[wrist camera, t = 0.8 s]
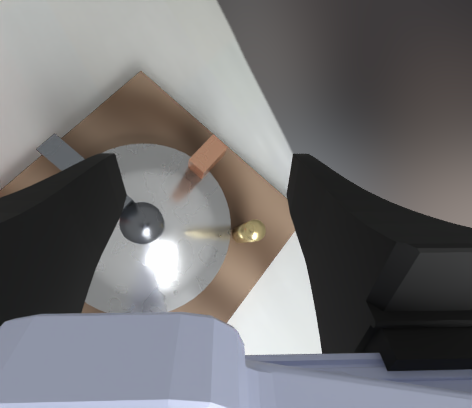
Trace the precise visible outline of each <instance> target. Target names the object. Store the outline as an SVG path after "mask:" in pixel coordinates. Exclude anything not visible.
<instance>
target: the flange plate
mask: <svg viewBox="0 0 472 408" xmlns="http://www.w3.org/2000/svg"><path fill="white" fill-rule="evenodd" d="M227 148H228V147H227V146H226V145H225V144H224V143H223V142H222V141H220V140H219V139H218V138H217V137H216V136H215V135H214V134H213V135H212V136H211V137H210V138H209V139H208V140H207V141H206V142H205V143H204V144H203V145H202V146H201V147H200V148H199V149H198V150H197V151H196V152H195V154H194V155H193V156H192V157H190V156H189V155H187V154H185V153H183V152H181V151H179V150H176V149H173V148H170V147H167V146H162V145H157V144H144V143H141V144H129V145H124V146H119V147H116V148H113V149H110V150H107V151H105V152H103V153H115V155H116V158H117V162H118V165H119V169H120V173H121V176H122V180H123V183H124V187H125V190H126V194H127V196H126V200H125V204H124V207H123V210H122V214H121V216H120V218H119V220H118V223H117V225H116V227H115V229H114V231H113V233H112V235H111V237H110V239H109V241H108V243H107V245H106V247H105V249H104V251H103V253H102V255H101V258H100V260H99V262H98V265H97V267H96V270H95V272H94V275H93V278H92V281H91V284H90V287H89V290H88V293H87V296H86V300H85V302H86V303H87V304H89V305H91V306H93V307H95V308H96V309H98V310H101V311H104V312H107V313H138V312H169V311H172V310H174V309H176V308H178V307H180V306H182V305H184V304H186V303H188V302H189V301H191V300H192V299H194V298H195V297H196V296H197V295H198V294H200V293H201V292H202V291H203V290H204V289H205V288H206V287H207V286H208V285H209V284H210V282H211V281H212V280H213V279H214V277H215V276H216V274H217V273H218V271H219V269H220V267H221V265H222V264H223V262H224V259H225V256H226V254H227V251H228V246H229V242H230V234H231V219H230V213H229V208H228V204H227V201H226V198H225V196H224V193H223V191H222V189H221V187H220V186H219V184H218V182H217V181H216V179H215V178H214V177H213V176H212V174H211V173H210V172H209V171H210V170H211V169H212V168H213V167H214V166H215V165H216V164H217V162H218V161H219V160H220V159H221V158H222V157H223V156H224V154H225V152H226V150H227ZM36 150H37V151H39V152H40V153H41V154H42V155H43V156H45V157H46V158H47V159H48V160H49V161H50V162H52V163H53V164H54V165H55V166H56V167H58V168H59V169H60V170H61V171H63V170H65V169H67V168H69V167H71V166H72V165H74V164H76V163H78V162H80V161H82V160H85V159H84V158H83V157H82V156H81V155H80V154H78V153H77V152H76V151H75V150H74V149H72V148H71V147H70V146H69V145H68V144H67V143H65V142H64V141H63V140H62V139H61V138H59V137H58V136H57V135H56V134H53V135H52V136H51V137H50V138H49V139H47V140H46V141H45V142H44V143H43V144H41V145H40V146H39V147H38V148H37V149H36Z"/></svg>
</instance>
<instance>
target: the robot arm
mask: <svg viewBox="0 0 472 408" xmlns="http://www.w3.org/2000/svg"><path fill="white" fill-rule="evenodd" d="M126 196H127V194H126V190H125V187H124V183H123V180H122V176H121V173H120V169H119V165H118V162H117V158H116V155H115V153H99V154H96V155H93V156H91V157H89V158H87V159H85V160H82V161H80V162H78V163H76V164H74V165H72V166H71V167H69V168H67V169H65V170H63V171H61V172H59V173H57V174H55V175H52V176H50V177H48V178H46V179H44V180H42V181H40V182H37V183H35V184H33V185H31V186H29V187H26V188H24V189H22V190H19V191H17V192H14V193H11V194H9V195H6V196H3V197H1V198H0V408H472V228H470V227H466V226H461V225H457V224H453V223H450V222H446V221H443V220H439V219H436V218H433V217H430V216H426V215H424V214H421V213H418V212H415V211H412V210H409V209H407V208H404V207H402V206H399V205H397V204H394V203H391V202H389V201H387V200H385V199H382V198H380V197H378V196H376V195H374V194H372V193H370V192H368V191H366V190H364V189H362V188H361V187H359V186H357V185H356V184H354V183H352V182H350V181H349V180H347V179H345V178H344V177H342V176H341V175H339V174H338V173H336V172H335V171H333V170H332V169H330V168H329V167H328V166H326V165H325V164H323V163H322V162H320V161H319V160H317V159H316V158H314V157H313V156H311V155H309V154H293V158H292V164H291V171H290V177H289V183H288V190H287V200H288V206H289V211H290V215H291V219H292V222H293V225H294V228H295V231H296V234H297V237H298V240H299V243H300V246H301V249H302V252H303V255H304V258H305V261H306V265H307V270H308V274H309V279H310V284H311V289H312V294H313V300H314V305H315V310H316V316H317V322H318V328H319V334H320V341H321V348H322V354H286V355H245V351H244V343H243V341H242V339H241V337H240V335H239V333H238V331H237V330H236V329H235V328H234V327H232V326H231V325H229V324H227V323H225V322H223V321H221V320H219V319H217V318H215V317H213V316H210V315H203V314H195V313H187V312H138V313H82V309H83V306H84V303H85V300H86V296H87V293H88V290H89V287H90V284H91V281H92V278H93V275H94V272H95V270H96V267H97V265H98V262H99V260H100V258H101V255H102V253H103V251H104V249H105V247H106V245H107V243H108V241H109V239H110V237H111V235H112V233H113V231H114V229H115V227H116V225H117V223H118V220H119V218H120V216H121V214H122V210H123V207H124V204H125V200H126Z"/></svg>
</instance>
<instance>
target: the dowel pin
mask: <svg viewBox="0 0 472 408" xmlns="http://www.w3.org/2000/svg"><path fill="white" fill-rule="evenodd" d="M265 233H266V229H265V226H264V224H263V223H262V222H261V221H259V220H251V221H248V222H246V223H244V224H242V225H239V226H237V227H235V228H234V229H233V231H232V237H233V239H234V241H236V242H237V243H247V242H254V241H259V240H261V239H262V238H263V237H264V236H265Z"/></svg>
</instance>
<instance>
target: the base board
mask: <svg viewBox="0 0 472 408" xmlns="http://www.w3.org/2000/svg"><path fill="white" fill-rule="evenodd" d="M212 135H213V133H211V132H210V131H209V130H208V129H207V128H206V127H205V126H204V125H202V124H201V123H200V122H199V121H198V120H197V119H196V118H194V117H193V116H192V115H191V114H190V113H189V112H188V111H186V110H185V109H184V108H183V107H182V106H181V105H180V104H178V103H177V102H176V101H175V100H174V99H173V98H172V97H170V96H169V95H168V94H167V93H166V92H165V91H164V90H162V89H161V88H160V87H159V86H158V85H157V84H156V83H155V82H153V81H152V80H151V79H150V78H149V77H148V76H147V75H145V74H144V73H143V72H142V71H140V72H139V73H138V74H137V75H135V76H134V77H133V78H132V79H131V80H129V81H128V82H127V83H126V84H125V85H124V86H122V87H121V88H120V89H119V90H118V91H117V92H115V93H114V94H113V95H112V96H111V97H109V98H108V99H107V100H106V101H105V102H104V103H102V104H101V105H100V106H99V107H98V108H97V109H95V110H94V111H93V112H92V113H91V114H90V115H88V116H87V117H86V118H85V119H84V120H82V121H81V122H80V123H79V124H78V125H77V126H75V127H74V128H73V129H72V130H71V131H70V132H68V133H67V134H66V135H65V136H64V137H63V138H61V139H62V140H63V141H64V142H65V143H67V144H68V145H69V146H70V147H71V148H72V149H74V150H75V151H76V152H77V153H78V154H80V155H81V156H82V157H83V158H84V159H87V158H89V157H91V156H93V155H96V154H99V153H103V152H105V151H107V150H110V149H113V148H116V147H119V146H124V145H129V144H141V143H144V144H157V145H162V146H167V147H170V148H173V149H176V150H179V151H181V152H183V153H185V154H187V155H189V156H190V157H192V156H193V155H194V154H195V152H196V151H197V150H198V149H199V148H200V147H201V146H202V145H203V144H204V143H205V142H206V141H207V140H208V139H209V138H210V137H211V136H212ZM220 141H221V140H220ZM59 172H61V170H60V169H59V168H58V167H56V166H55V165H54V164H53V163H52V162H50V161H49V160H48V159H47V158H46V157H45V156H43V155H41V156H40V157H39V158H38V159H37V160H36V161H34V162H33V163H32V164H31V165H30V166H28V167H27V168H26V169H25V170H24V171H23V172H21V173H20V174H19V175H18V176H17V177H16V178H14V179H13V180H12V181H11V182H10V183H9V184H7V185H6V186H5V187H4V188H3V189H1V190H0V198H1V197H3V196H6V195H9V194H11V193H14V192H17V191H19V190H22V189H24V188H26V187H29V186H31V185H33V184H35V183H37V182H40V181H42V180H44V179H46V178H48V177H50V176H52V175H55V174H57V173H59ZM209 172H210V173H211V174H212V176H213V177H214V178H215V179H216V181H217V182H218V184H219V186H220V187H221V189H222V191H223V193H224V196H225V198H226V201H227V204H228V208H229V213H230V219H231V234H230V242H229V246H228V251H227V254H226V256H225V259H224V262H223V264H222V265H221V267H220V269H219V271H218V273H217V274H216V276H215V277H214V279H213V280H212V281H211V282H210V284H209V285H208V286H207V287H206V288H205V289H204V290H203V291H202V292H201V293H200V294H198V295H197V296H196V297H195V298H194V299H192V300H191V301H189V302H188V303H186V304H184V305H182V306H180V307H178V308H176V309H174V310H172V311H169V312H187V313H195V314H203V315H210V316H213V317H215V318H217V319H219V320H221V321H223V322H225V323H227V322H228V320H229V319H230V318H231V316H232V315H233V314H234V312H235V311H236V310H237V308H238V307H239V305H240V304H241V303H242V301H243V300H244V299H245V297H246V296H247V295H248V293H249V292H250V291H251V289H252V288H253V287H254V285H255V284H256V283H257V281H258V280H259V279H260V277H261V276H262V275H263V273H264V272H265V270H266V269H267V268H268V266H269V265H270V264H271V262H272V261H273V260H274V258H275V257H276V256H277V254H278V253H279V252H280V250H281V249H282V248H283V246H284V245H285V244H286V242H287V241H288V240H289V238H290V237H291V235H292V234H293V233H294V231H295V228H294V225H293V222H292V219H291V215H290V211H289V206H288V200H287V198H286V197H284V196H283V195H282V194H281V193H280V192H279V191H278V190H276V189H275V188H274V187H273V186H272V185H271V184H270V183H268V182H267V181H266V180H265V179H264V178H263V177H262V176H261V175H259V174H258V173H257V172H256V171H255V170H254V169H253V168H251V167H250V166H249V165H248V164H247V163H246V162H245V161H243V160H242V159H241V158H240V157H239V156H238V155H237V154H235V153H234V152H233V151H232V150H231V149H230V148H229V147H228V148H227V150H226V152H225V154H224V156H223V157H222V158H221V159H220V160H219V161H218V162H217V164H216V165H215V166H214V167H213V168H212V169H211V170H210V171H209ZM251 220H259V221H261V222H262V223H263V224H264V226H265V229H266V233H265V236H264V237H263V238H262V239H261V240H259V241H254V242H247V243H237V242H236V241H234V239H233V237H232V231H233V229H234V228H235V227H237V226H239V225H242V224H244V223H246V222H248V221H251ZM82 313H107V312H104V311H101V310H98V309H96V308H95V307H93V306H91V305H89V304H87V303H86V302H85V303H84V306H83V309H82Z"/></svg>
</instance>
